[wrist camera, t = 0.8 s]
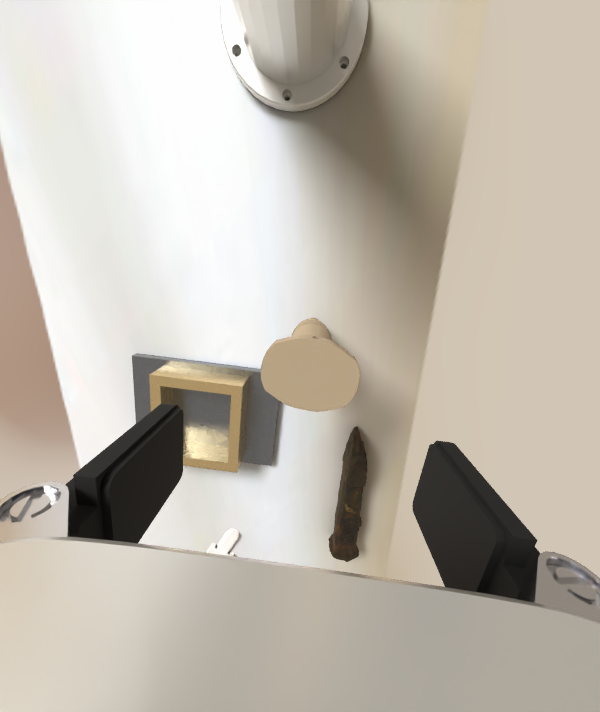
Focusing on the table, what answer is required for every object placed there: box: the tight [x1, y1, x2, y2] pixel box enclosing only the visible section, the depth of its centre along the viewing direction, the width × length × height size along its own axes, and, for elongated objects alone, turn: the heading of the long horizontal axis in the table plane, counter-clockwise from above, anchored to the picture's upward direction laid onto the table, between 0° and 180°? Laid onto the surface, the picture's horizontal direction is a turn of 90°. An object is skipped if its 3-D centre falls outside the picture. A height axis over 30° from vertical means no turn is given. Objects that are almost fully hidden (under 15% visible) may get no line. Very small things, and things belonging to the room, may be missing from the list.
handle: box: [261, 318, 360, 412], centre depth 25 cm, size 5×6×15 cm
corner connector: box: [206, 528, 240, 556], centre depth 43 cm, size 8×8×2 cm
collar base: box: [132, 354, 279, 472], centre depth 34 cm, size 13×18×4 cm
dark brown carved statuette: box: [329, 426, 367, 562], centre depth 36 cm, size 19×4×5 cm, turn 175°
